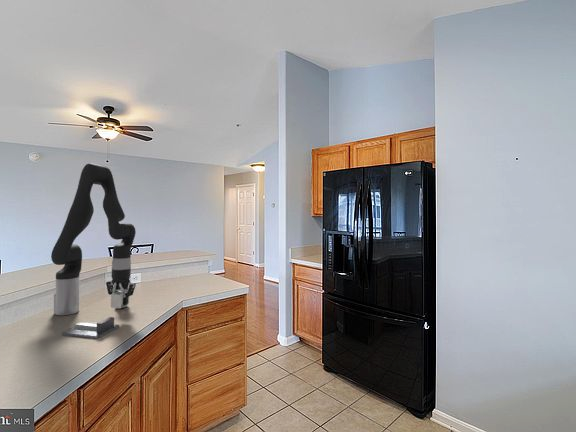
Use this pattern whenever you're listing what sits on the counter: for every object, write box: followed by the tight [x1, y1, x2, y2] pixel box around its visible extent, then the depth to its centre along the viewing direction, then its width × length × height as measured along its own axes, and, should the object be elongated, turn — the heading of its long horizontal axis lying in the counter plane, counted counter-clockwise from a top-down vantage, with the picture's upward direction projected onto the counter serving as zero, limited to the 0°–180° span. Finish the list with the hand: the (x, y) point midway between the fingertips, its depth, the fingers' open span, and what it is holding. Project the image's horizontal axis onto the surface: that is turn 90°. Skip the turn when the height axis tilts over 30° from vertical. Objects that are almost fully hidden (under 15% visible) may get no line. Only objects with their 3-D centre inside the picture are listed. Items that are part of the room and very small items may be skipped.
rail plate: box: [61, 316, 120, 339], centre depth 122 cm, size 16×12×5 cm
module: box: [110, 291, 130, 309], centre depth 133 cm, size 4×6×6 cm
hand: (120, 304), depth 133 cm, fingers closed on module, 4 cm apart
